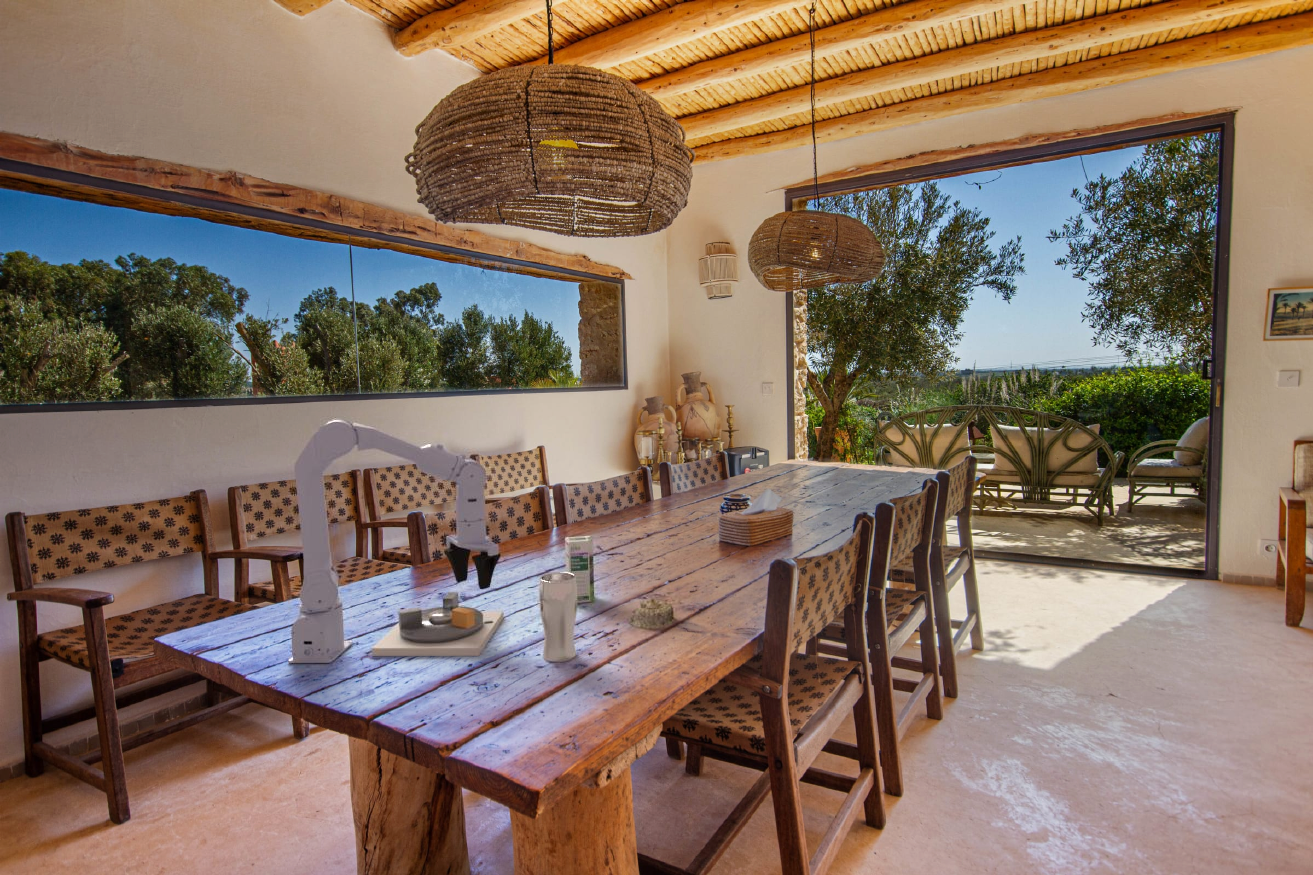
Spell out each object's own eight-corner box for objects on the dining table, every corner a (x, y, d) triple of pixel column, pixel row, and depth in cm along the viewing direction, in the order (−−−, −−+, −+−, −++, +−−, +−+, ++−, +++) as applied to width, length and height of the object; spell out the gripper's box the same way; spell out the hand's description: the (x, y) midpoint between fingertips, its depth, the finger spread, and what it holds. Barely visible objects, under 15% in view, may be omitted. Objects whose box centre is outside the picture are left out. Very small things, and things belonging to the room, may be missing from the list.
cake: (676, 616, 151) (678, 592, 150) (673, 634, 141) (676, 609, 140) (631, 611, 152) (633, 588, 151) (625, 629, 142) (627, 604, 141)
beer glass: (560, 645, 133) (559, 569, 132) (586, 654, 129) (584, 575, 127) (532, 656, 128) (530, 577, 127) (558, 666, 124) (556, 584, 122)
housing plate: (479, 655, 129) (478, 646, 128) (371, 655, 129) (371, 647, 129) (503, 617, 148) (503, 610, 148) (410, 618, 149) (410, 610, 149)
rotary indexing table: (470, 642, 130) (470, 619, 130) (386, 642, 131) (385, 619, 130) (491, 613, 146) (491, 592, 146) (416, 613, 146) (415, 592, 146)
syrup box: (569, 604, 157) (568, 541, 155) (565, 596, 162) (564, 535, 161) (594, 602, 158) (593, 540, 157) (590, 594, 164) (589, 534, 163)
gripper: (509, 520, 138) (511, 586, 140) (465, 511, 147) (467, 573, 149) (481, 526, 133) (483, 595, 134) (436, 517, 142) (439, 581, 143)
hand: (473, 584), depth 141 cm, fingers open, 7 cm apart
